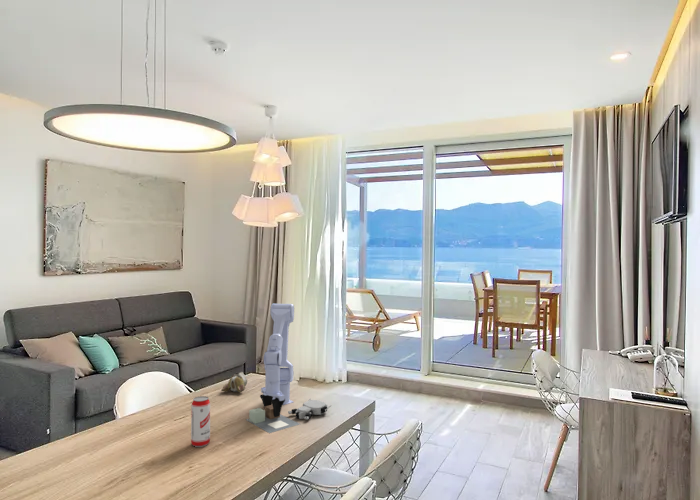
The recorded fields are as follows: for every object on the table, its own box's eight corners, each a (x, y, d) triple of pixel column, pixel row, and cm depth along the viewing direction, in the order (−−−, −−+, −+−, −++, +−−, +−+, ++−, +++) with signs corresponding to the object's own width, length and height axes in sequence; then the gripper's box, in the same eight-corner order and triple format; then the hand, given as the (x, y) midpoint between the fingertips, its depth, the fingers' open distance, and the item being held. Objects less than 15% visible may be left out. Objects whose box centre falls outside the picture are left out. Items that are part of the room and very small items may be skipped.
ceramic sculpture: (252, 368, 232) (241, 378, 217) (252, 386, 232) (241, 397, 218) (231, 368, 233) (219, 378, 218) (232, 385, 234) (220, 396, 219)
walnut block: (264, 416, 190) (264, 406, 190) (274, 413, 193) (274, 404, 193) (270, 419, 186) (270, 409, 186) (280, 416, 189) (280, 406, 189)
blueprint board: (245, 420, 186) (245, 419, 186) (275, 412, 195) (275, 411, 195) (269, 434, 173) (269, 432, 173) (300, 425, 182) (300, 423, 182)
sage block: (249, 420, 185) (249, 410, 185) (259, 417, 188) (259, 407, 188) (255, 423, 182) (255, 413, 182) (265, 420, 185) (265, 410, 185)
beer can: (213, 442, 165) (214, 396, 165) (202, 449, 159) (202, 402, 159) (198, 439, 167) (199, 394, 167) (187, 446, 161) (187, 400, 161)
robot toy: (307, 426, 183) (333, 413, 195) (307, 415, 183) (332, 403, 194) (286, 419, 191) (311, 407, 202) (285, 408, 190) (311, 396, 202)
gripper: (254, 378, 192) (254, 411, 192) (273, 386, 182) (273, 421, 182) (269, 375, 197) (269, 407, 197) (289, 383, 186) (288, 417, 186)
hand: (272, 414), depth 190 cm, fingers open, 6 cm apart
